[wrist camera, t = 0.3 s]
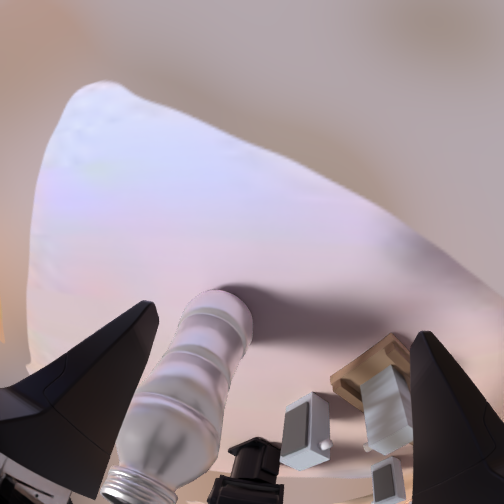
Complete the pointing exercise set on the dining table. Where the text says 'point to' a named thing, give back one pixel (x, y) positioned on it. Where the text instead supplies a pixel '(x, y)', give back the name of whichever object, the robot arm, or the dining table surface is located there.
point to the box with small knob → (306, 433)
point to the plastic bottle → (181, 404)
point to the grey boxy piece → (388, 482)
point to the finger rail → (370, 368)
